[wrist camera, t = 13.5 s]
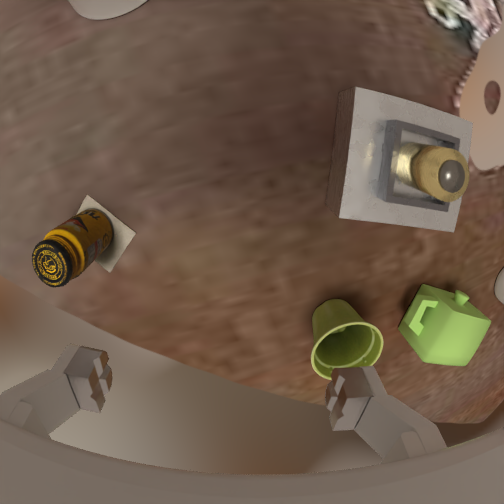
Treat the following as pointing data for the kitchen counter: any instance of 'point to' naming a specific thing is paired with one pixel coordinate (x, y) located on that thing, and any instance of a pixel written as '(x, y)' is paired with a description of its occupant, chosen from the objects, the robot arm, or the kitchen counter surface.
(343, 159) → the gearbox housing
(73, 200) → the kitchen counter surface
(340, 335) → the plant pot
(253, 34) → the kitchen counter surface
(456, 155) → the tan cylinder
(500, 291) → the milk bottle
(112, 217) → the condiment
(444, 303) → the green teapot
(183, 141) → the kitchen counter surface
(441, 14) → the kitchen counter surface
